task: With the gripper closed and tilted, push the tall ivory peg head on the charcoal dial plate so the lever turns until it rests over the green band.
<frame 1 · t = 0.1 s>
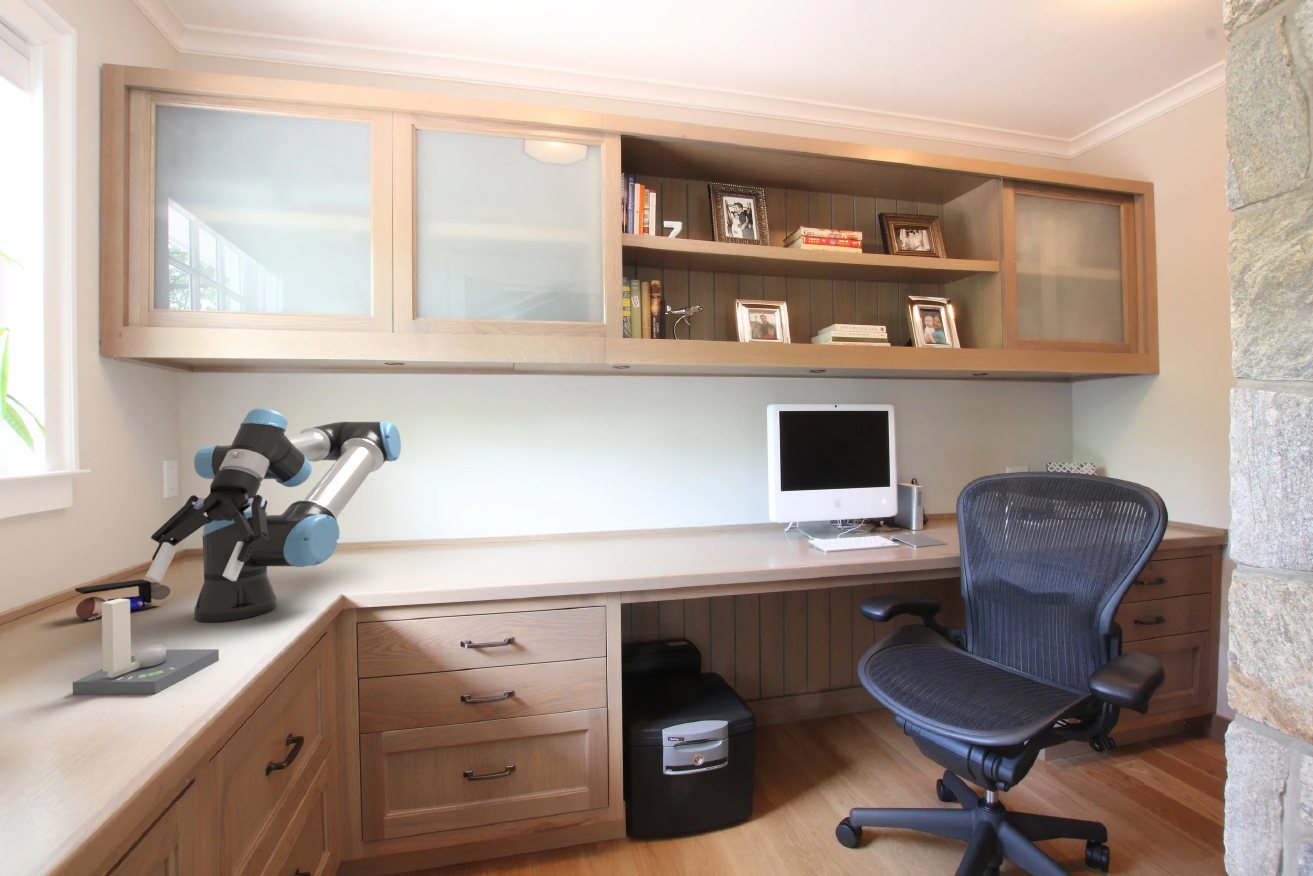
hand: (191, 579, 100), 15 cm above the table, tool tilted 35°, fingers open, 13 cm apart
figurine character: (123, 613, 129), on the table
lever: (136, 631, 93), point 8 cm above the table, hinge at -15.0°
dial plate: (150, 676, 95), on the table
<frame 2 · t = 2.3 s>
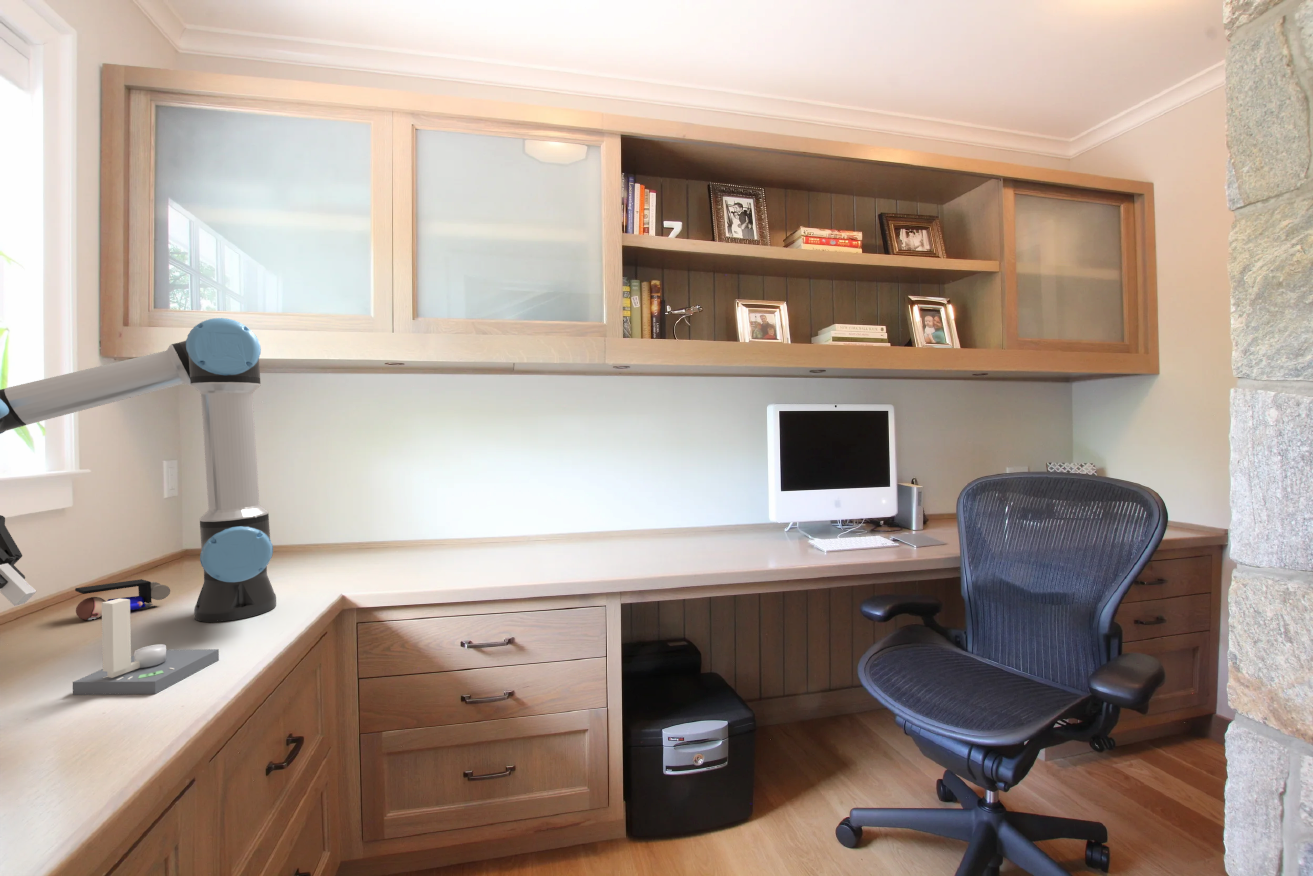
hand: (25, 598, 90), 15 cm above the table, tool tilted 45°, fingers closed
nothing on the table moved.
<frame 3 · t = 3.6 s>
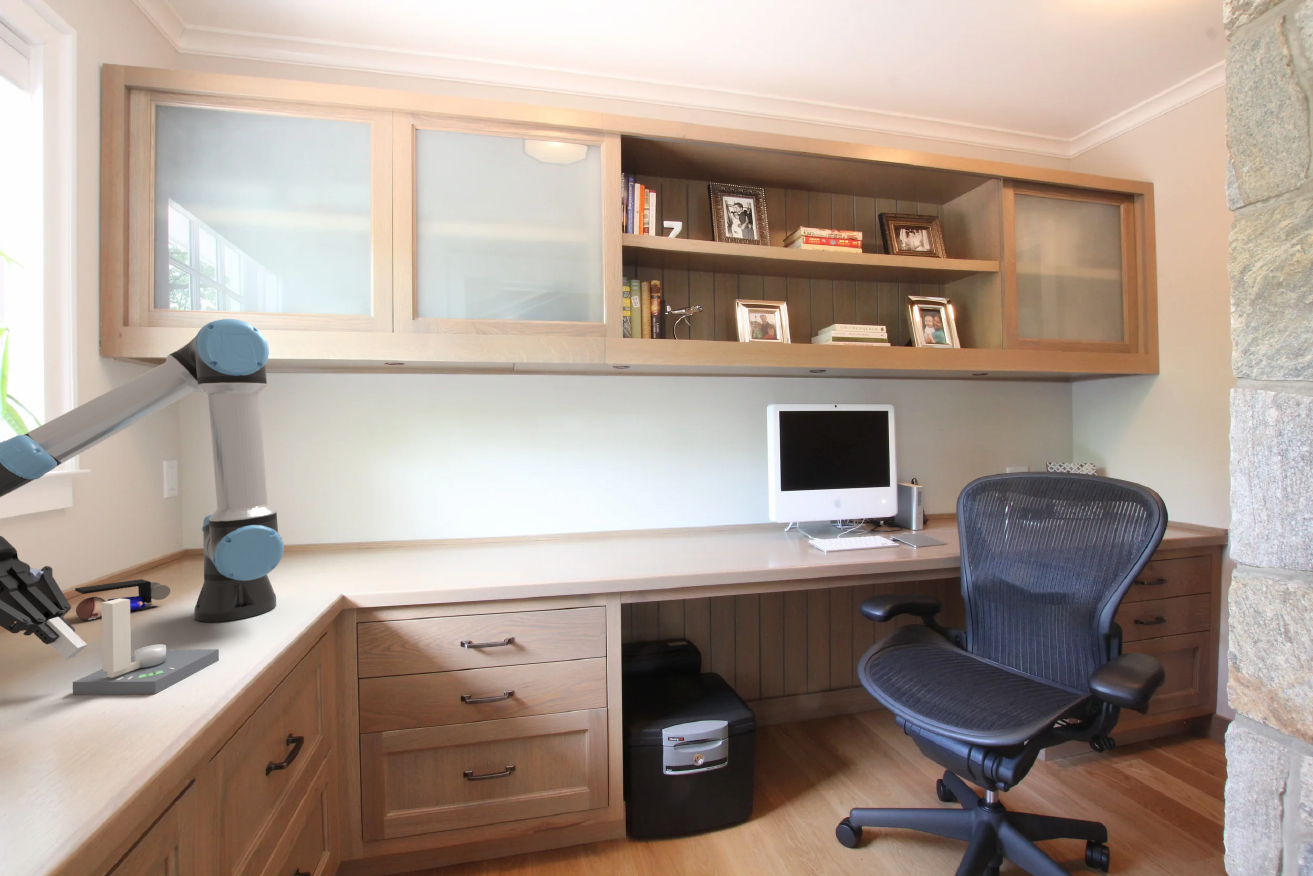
hand: (76, 652, 90), 6 cm above the table, tool tilted 45°, fingers closed
nothing on the table moved.
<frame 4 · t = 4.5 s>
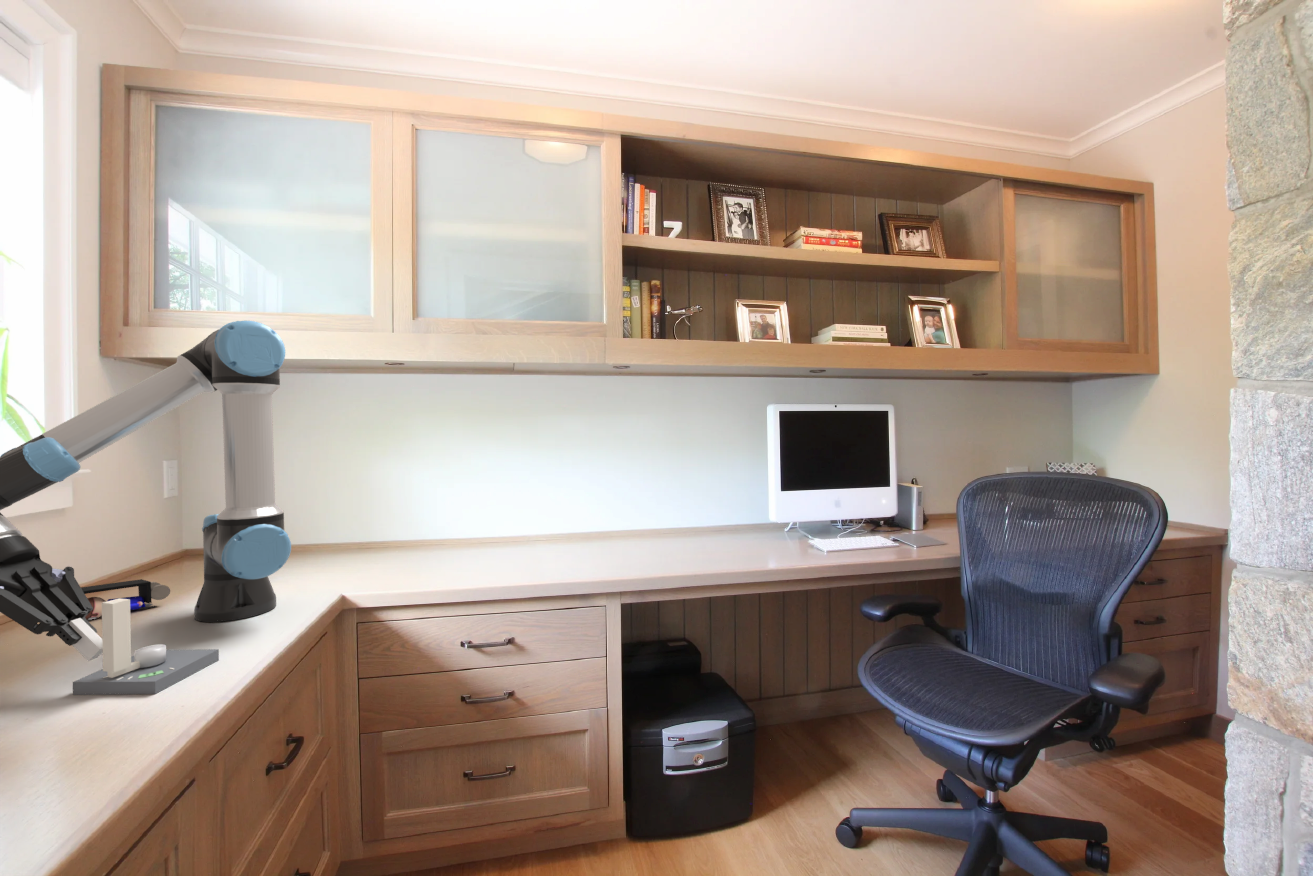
hand: (98, 653, 90), 6 cm above the table, tool tilted 45°, fingers closed
lever: (136, 631, 93), point 8 cm above the table, hinge at -14.7°, touching gripper
everything else where it was.
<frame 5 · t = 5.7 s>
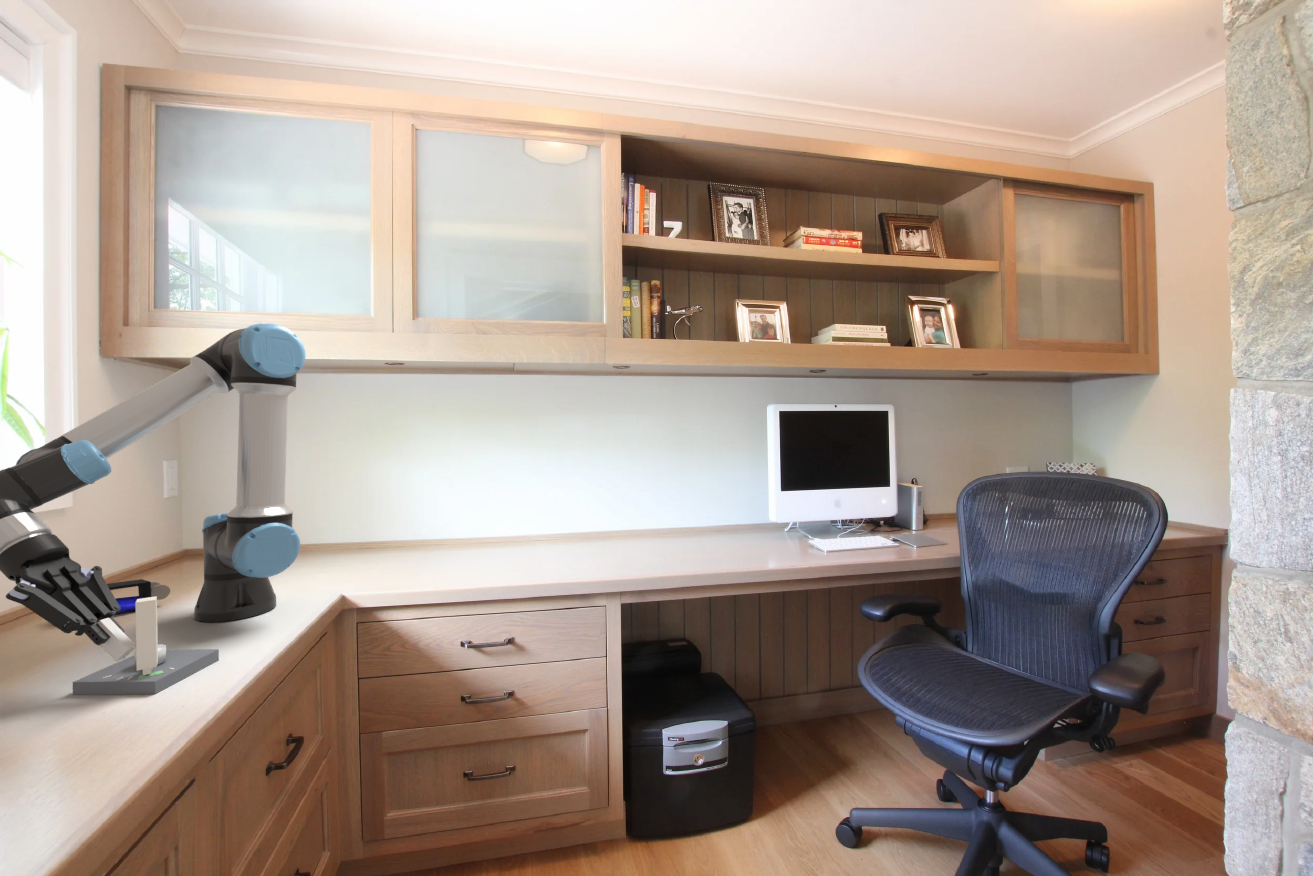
hand: (126, 653, 90), 6 cm above the table, tool tilted 45°, fingers closed
lever: (148, 631, 93), point 8 cm above the table, hinge at 37.4°, touching gripper
everything else where it was.
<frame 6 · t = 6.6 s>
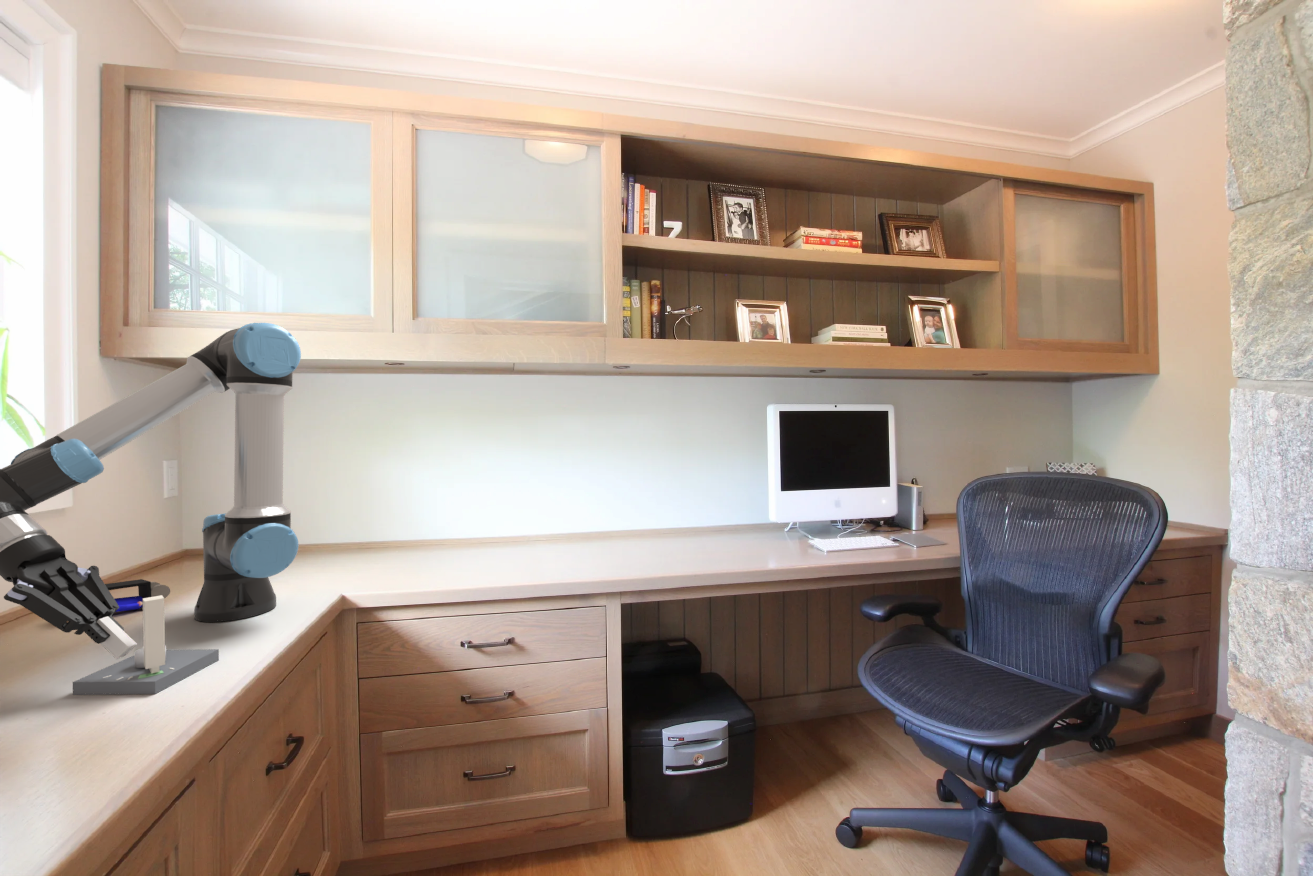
hand: (126, 651, 91), 6 cm above the table, tool tilted 45°, fingers closed
lever: (151, 630, 94), point 8 cm above the table, hinge at 47.5°
everything else where it was.
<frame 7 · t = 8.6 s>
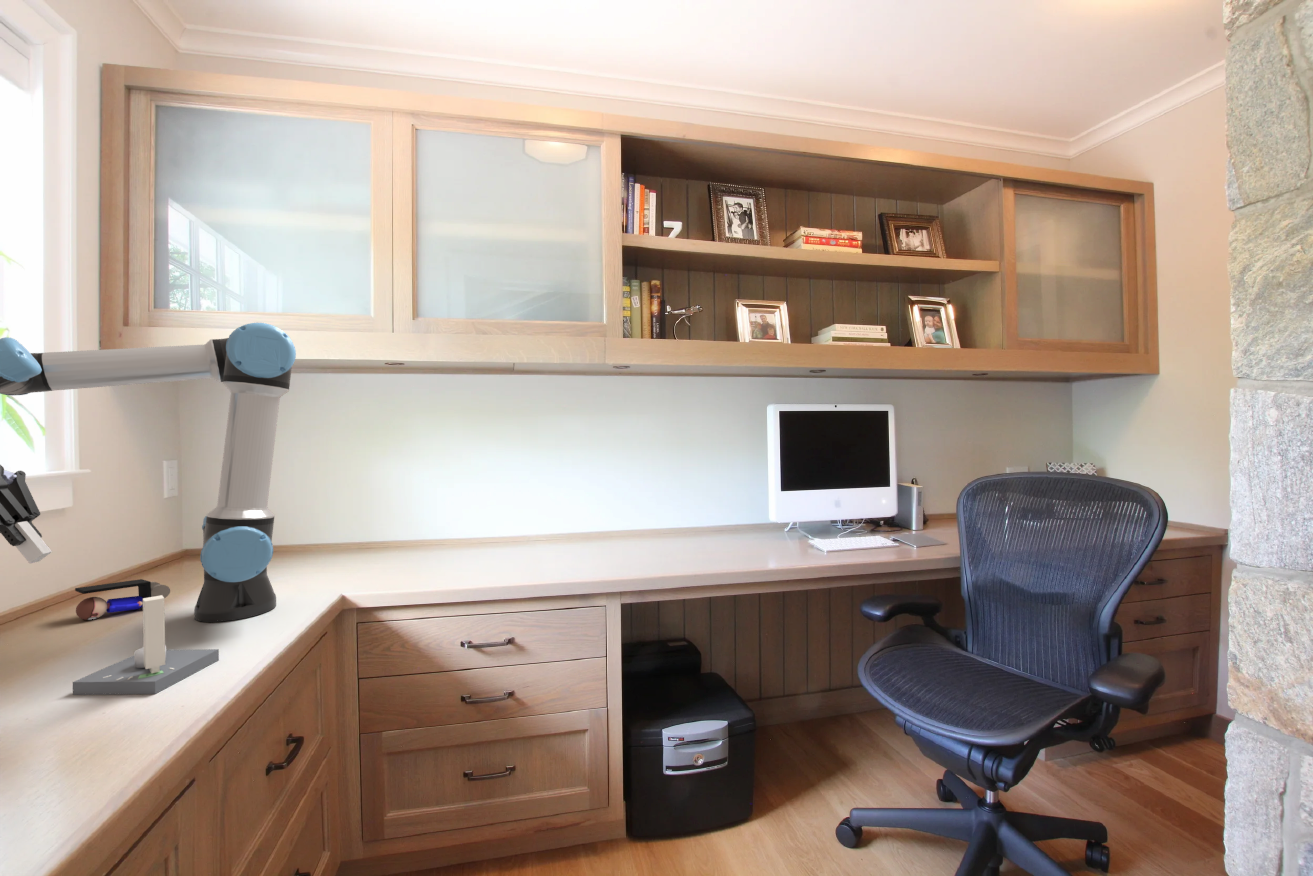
hand: (41, 557, 93), 21 cm above the table, tool tilted 35°, fingers closed
nothing on the table moved.
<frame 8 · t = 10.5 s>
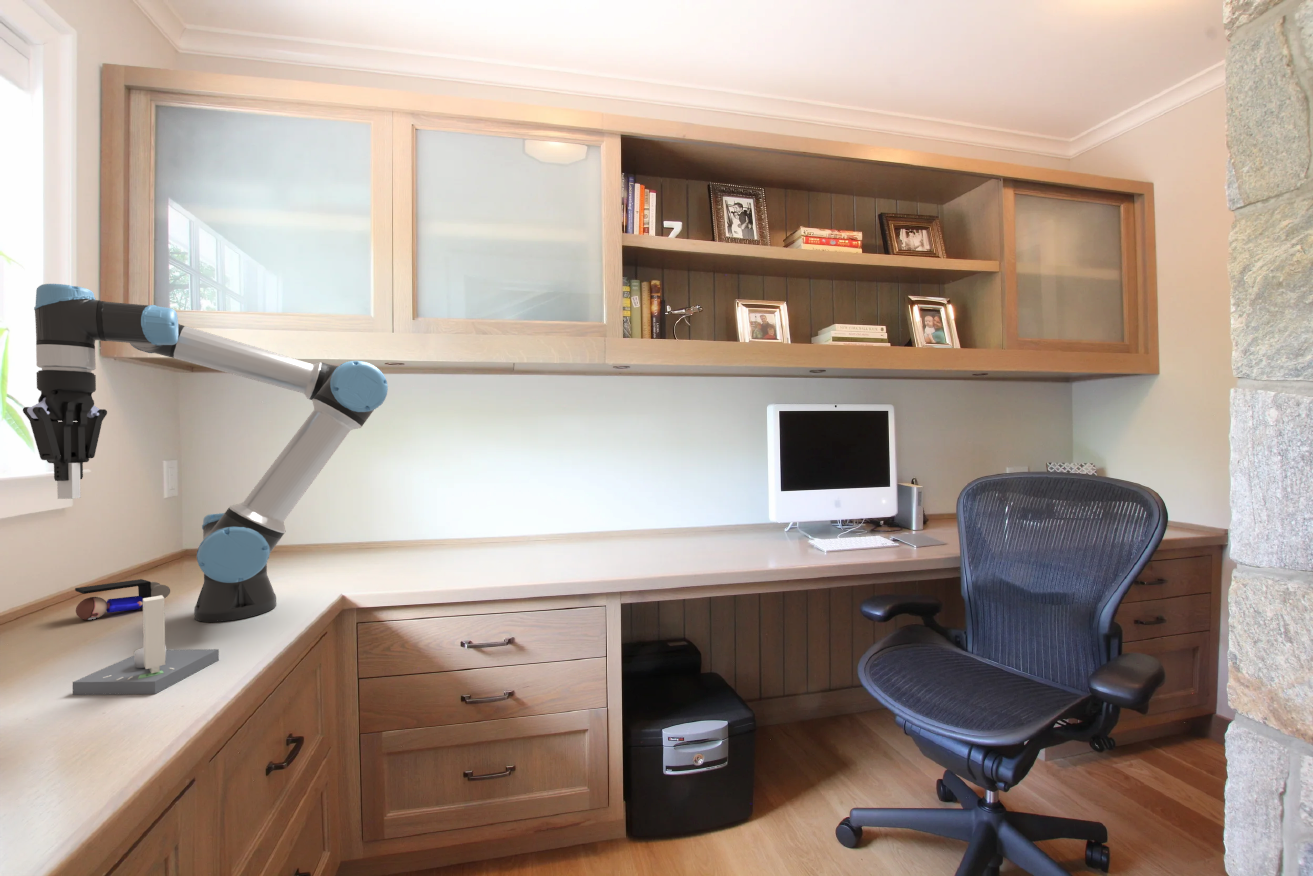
hand: (69, 498, 103), 29 cm above the table, tool pointing down, fingers closed
nothing on the table moved.
at the end: lever at +48° (first picture: -15°); the gripper is holding nothing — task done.
